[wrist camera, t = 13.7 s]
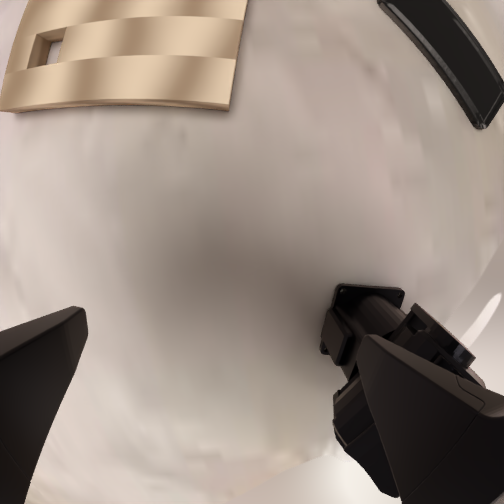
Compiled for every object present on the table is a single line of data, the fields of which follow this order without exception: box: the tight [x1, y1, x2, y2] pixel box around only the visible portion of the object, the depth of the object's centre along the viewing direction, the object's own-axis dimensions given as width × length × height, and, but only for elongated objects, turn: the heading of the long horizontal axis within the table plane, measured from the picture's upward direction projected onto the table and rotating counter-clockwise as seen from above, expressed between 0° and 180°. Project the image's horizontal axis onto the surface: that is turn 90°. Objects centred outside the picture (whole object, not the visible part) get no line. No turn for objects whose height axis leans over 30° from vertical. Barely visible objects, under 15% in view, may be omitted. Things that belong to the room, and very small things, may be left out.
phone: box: [377, 0, 504, 129], centre depth 17 cm, size 8×1×15 cm
